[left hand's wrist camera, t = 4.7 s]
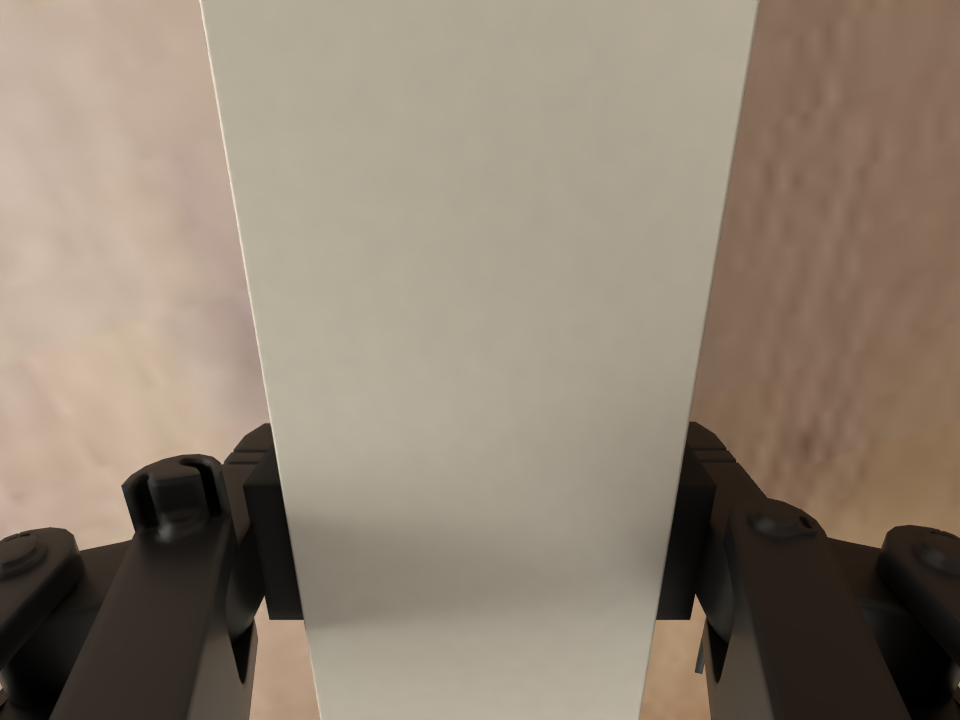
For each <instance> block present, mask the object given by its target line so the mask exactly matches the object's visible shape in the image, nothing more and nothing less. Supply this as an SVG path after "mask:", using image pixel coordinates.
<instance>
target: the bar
mask: <svg viewBox="0 0 960 720" xmlns="http://www.w3.org/2000/svg"><path fill="white" fill-rule="evenodd" d="M199 1H200V7H201V13H202V19H203V25H204V31H205V37H206V43H207V49H208V55H209V61H210V67H211V73H212V78H213V84H214V90H215V96H216V102H217V108H218V114H219V120H220V126H221V132H222V138H223V144H224V150H225V156H226V161H227V167H228V173H229V179H230V185H231V191H232V197H233V203H234V209H235V215H236V221H237V227H238V233H239V239H240V244H241V250H242V256H243V262H244V268H245V274H246V280H247V286H248V292H249V298H250V304H251V310H252V316H253V321H254V327H255V333H256V339H257V345H258V351H259V357H260V363H261V369H262V375H263V381H264V387H265V393H266V399H267V404H268V410H269V416H270V422H271V428H272V434H273V440H274V446H275V452H276V458H277V464H278V470H279V476H280V482H281V487H282V493H283V499H284V505H285V511H286V517H287V523H288V529H289V535H290V541H291V547H292V553H293V559H294V564H295V570H296V576H297V582H298V588H299V594H300V600H301V606H302V612H303V618H304V624H305V630H306V636H307V642H308V647H309V653H310V659H311V665H312V671H313V677H314V683H315V689H316V695H317V701H318V707H319V713H320V719H321V720H639V717H640V711H641V705H642V699H643V693H644V687H645V681H646V675H647V669H648V663H649V657H650V652H651V646H652V640H653V634H654V628H655V622H656V616H657V610H658V604H659V598H660V592H661V586H662V580H663V574H664V568H665V562H666V556H667V550H668V544H669V539H670V533H671V527H672V521H673V515H674V509H675V503H676V497H677V491H678V485H679V479H680V473H681V467H682V461H683V455H684V449H685V443H686V437H687V431H688V426H689V420H690V414H691V408H692V402H693V396H694V390H695V384H696V378H697V372H698V366H699V360H700V354H701V348H702V342H703V336H704V330H705V324H706V318H707V313H708V307H709V301H710V295H711V289H712V283H713V277H714V271H715V265H716V259H717V253H718V247H719V241H720V235H721V229H722V223H723V217H724V211H725V205H726V200H727V194H728V188H729V182H730V176H731V170H732V164H733V158H734V152H735V146H736V140H737V134H738V128H739V122H740V116H741V110H742V104H743V98H744V92H745V87H746V81H747V75H748V69H749V63H750V57H751V51H752V45H753V39H754V33H755V27H756V21H757V15H758V9H759V3H760V0H199Z"/></svg>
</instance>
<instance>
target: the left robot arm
mask: <svg viewBox="0 0 960 720" xmlns="http://www.w3.org/2000/svg"><path fill="white" fill-rule="evenodd" d="M121 487H122V490H123V493H124V496H125V500H126V503H127V506H128V510H129V513H130V516H131V519H132V523H133V526H134V529H135V534H134V536H133V538H132V540H129V541H125V542H121V543H116V544H111V545H106V546H101V547H96V548H92V549H87V550H82V551H79V549H78V546H77V543H76V541H75V538H74V535H73V534H71V533H70V532H69V531H67V530H66V529H60V528H51V527H49V528H42V529H35V530H29V531H24V532H20V534H14V535H11V536H9V537H6V538H4V539H3V540H1V541H0V683H1V685H2V687H3V688H2V689H1V691H0V720H249V716H250V707H251V698H252V689H253V680H254V671H255V662H256V653H257V644H258V636H257V630H256V625H255V620H254V616H255V614H256V612H257V610H258V608H259V606H260V604H261V602H262V600H263V598H264V595H265V599H266V604H267V609H268V614H269V619H270V620H304V618H303V612H302V606H301V600H300V594H299V588H298V582H297V576H296V570H295V564H294V559H293V553H292V547H291V541H290V535H289V529H288V523H287V517H286V511H285V505H284V499H283V493H282V487H281V482H280V476H279V470H278V464H277V458H276V452H275V446H274V440H273V434H272V428H271V423H265V424H263V425H261V426H260V427H258V428H257V429H255V430H253V431H252V432H250V433H249V434H247V435H245V436H244V438H243V439H242V440H241V441H240V443H239V444H238V445H237V446H236V448H235V449H234V452H233V453H231V454H230V455H229V456H228V457H227V459H226V460H225V461H224V465H221V463H220V462H219V461H218V460H216V459H215V458H214V457H211V456H206V455H201V454H191V455H180V456H175V457H171V458H166V459H163V460H160V461H158V462H155V463H152V464H150V465H147V466H145V467H144V468H142V469H140V470H139V471H137V472H136V473H134V474H132V475H131V476H130V477H129V478H128V479H127V480H126V481H125V482H124V483H123V485H122V486H121ZM695 593H696V596H697V598H698V600H699V602H700V604H701V606H702V608H703V610H704V612H705V614H706V620H705V625H704V629H703V634H702V639H701V643H700V648H699V653H698V657H697V662H696V668H695V673H700V674H702V672H703V668H704V663H705V669H706V678H707V687H708V696H709V705H710V714H711V720H960V688H959V687H958V684H959V682H960V538H958V537H957V536H955V535H953V534H951V533H948V532H945V531H943V532H942V531H940V530H938V529H934V528H929V527H921V526H914V525H905V526H896V527H894V528H893V529H891V530H890V531H888V532H887V534H886V537H885V539H884V542H883V545H882V548H881V549H880V548H875V547H870V546H865V545H860V544H855V543H851V542H846V541H841V540H836V539H833V538H829V537H827V535H826V533H825V531H824V530H823V529H822V527H821V526H820V525H819V523H818V522H817V521H816V520H815V519H814V518H812V517H811V516H810V515H808V514H807V513H805V512H804V511H803V510H801V509H799V508H796V507H794V506H792V505H790V504H788V503H785V502H782V501H778V500H774V499H770V498H767V497H766V496H765V494H764V493H763V492H762V491H761V490H760V488H759V487H758V486H757V485H756V484H755V482H754V481H753V480H752V479H751V477H750V476H749V475H748V474H747V473H746V471H745V470H744V469H743V468H742V466H741V465H740V464H739V463H736V459H735V458H734V457H733V455H732V454H731V453H730V452H729V451H726V447H725V446H724V445H723V443H722V442H721V441H720V440H719V438H718V437H717V436H716V435H715V434H714V433H713V432H711V431H709V430H708V429H706V428H705V427H703V426H701V425H700V424H698V423H696V422H689V426H688V431H687V437H686V443H685V449H684V455H683V461H682V467H681V473H680V479H679V485H678V491H677V497H676V503H675V509H674V515H673V521H672V527H671V533H670V539H669V544H668V550H667V556H666V562H665V568H664V574H663V580H662V586H661V592H660V598H659V604H658V610H657V616H656V620H690V618H691V613H692V608H693V603H694V598H695Z"/></svg>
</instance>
